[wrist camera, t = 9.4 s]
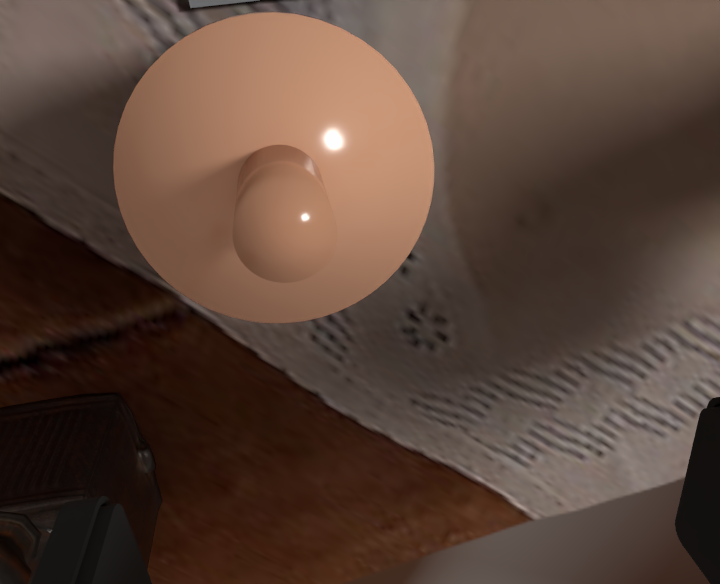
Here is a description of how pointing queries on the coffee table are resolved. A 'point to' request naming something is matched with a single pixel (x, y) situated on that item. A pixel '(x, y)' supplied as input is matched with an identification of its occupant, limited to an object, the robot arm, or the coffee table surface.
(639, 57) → the coffee table surface
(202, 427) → the coffee table surface
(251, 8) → the coffee table surface
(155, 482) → the manual coffee grinder
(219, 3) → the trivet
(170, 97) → the lid
